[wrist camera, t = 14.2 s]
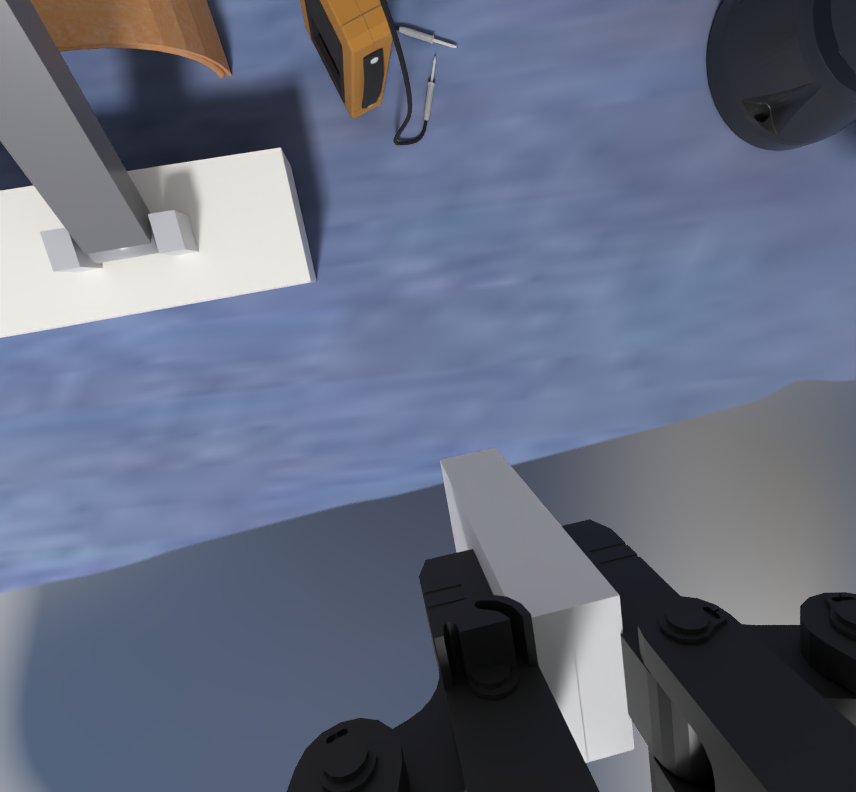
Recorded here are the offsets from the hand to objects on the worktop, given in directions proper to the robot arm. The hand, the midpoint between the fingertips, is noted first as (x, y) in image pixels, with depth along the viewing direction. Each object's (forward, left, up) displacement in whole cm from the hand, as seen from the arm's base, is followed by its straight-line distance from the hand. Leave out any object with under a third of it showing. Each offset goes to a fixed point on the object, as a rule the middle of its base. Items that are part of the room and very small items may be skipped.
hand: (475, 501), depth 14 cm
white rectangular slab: (+16, -11, -32) cm, 38 cm away
